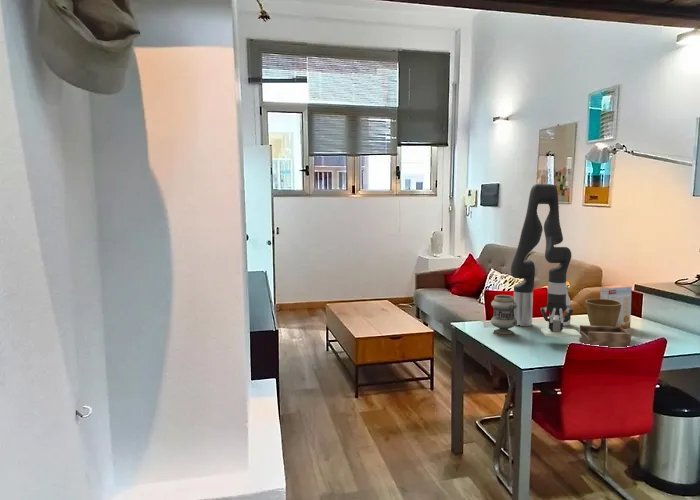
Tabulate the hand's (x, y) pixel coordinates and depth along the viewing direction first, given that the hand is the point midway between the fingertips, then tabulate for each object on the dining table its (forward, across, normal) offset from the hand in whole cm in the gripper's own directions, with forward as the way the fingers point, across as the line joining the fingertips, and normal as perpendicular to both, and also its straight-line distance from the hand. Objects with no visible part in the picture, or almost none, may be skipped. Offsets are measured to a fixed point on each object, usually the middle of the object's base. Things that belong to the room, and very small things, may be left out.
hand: (555, 330), depth 210 cm
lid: (+1, +2, 0) cm, 2 cm away
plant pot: (+6, +25, +18) cm, 31 cm away
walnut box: (+6, +20, 0) cm, 21 cm away
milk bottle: (+6, +12, +37) cm, 39 cm away
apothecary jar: (+6, -20, +15) cm, 26 cm away
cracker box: (+6, +36, +34) cm, 50 cm away
